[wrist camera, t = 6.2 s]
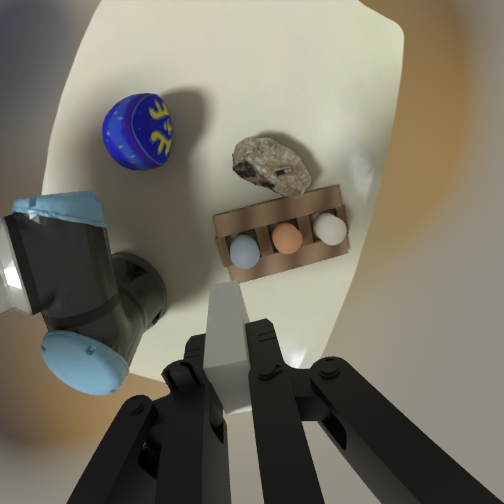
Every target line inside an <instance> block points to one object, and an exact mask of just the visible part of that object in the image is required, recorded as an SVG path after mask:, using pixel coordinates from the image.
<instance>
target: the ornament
mask: <svg viewBox="0 0 504 504" xmlns="http://www.w3.org/2000/svg"><path fill="white" fill-rule="evenodd" d="M171 125H172V123H171V119H170V115H169V111H168V108H167V106H166V104H165V103H164V101H163V100H162V99H161V98H160V97H159V96H158V95H156V94H150V93H144V94H136V95H131V96H129V97H126V98H124V99H123V100H121V101H120V102H118V103H117V104H116V105H115V106H114V107H113V108H112V109H111V110H110V111H109V112H108V114H107V115H106V117H105V120H104V123H103V127H102V135H103V141H104V144H105V146H106V148H107V150H108V152H109V153H110V155H111V157H112V158H113V159H114V160H115V161H116V162H117V163H119V164H120V165H122V166H123V167H125V168H128V169H132V170H148V169H151V168H155V167H159V166H161V165H163V164H164V163H165V162H166V161H167V158H168V156H169V154H170V149H171V145H172V128H171Z"/></svg>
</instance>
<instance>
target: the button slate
mask: <svg viewBox="0 0 504 504" xmlns="http://www.w3.org/2000/svg"><path fill="white" fill-rule="evenodd" d="M230 258H231V261H232V263H233V264H234V265H235V266H236V267H238V268H241V269H249V268H252V267H253V266H255V265H256V264H257V262H258V261H259V258H260V252H259V249H258V246H257V243H256V241H255V239H254V238H253V237H252V236H250V235H247V234H240V235H238V236H236V237H235V238H233V240H232V241H231V244H230Z"/></svg>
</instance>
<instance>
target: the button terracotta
mask: <svg viewBox="0 0 504 504" xmlns="http://www.w3.org/2000/svg"><path fill="white" fill-rule="evenodd" d="M271 239H272V241H273V243H274V245H275V246H276V248H277V249H278V251H280V252H281V253H284V254H292V253H294V252H296V251H297V250H298V249H299V248H300V247H301V244H302V235H301V233H300V231H299V230H298V229H297V228H296V227H295V226H294V225H293V224H292V223H290V222H287V221H282V222H278V223H277V224H275V225H274V226H273V228H272V230H271Z"/></svg>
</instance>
